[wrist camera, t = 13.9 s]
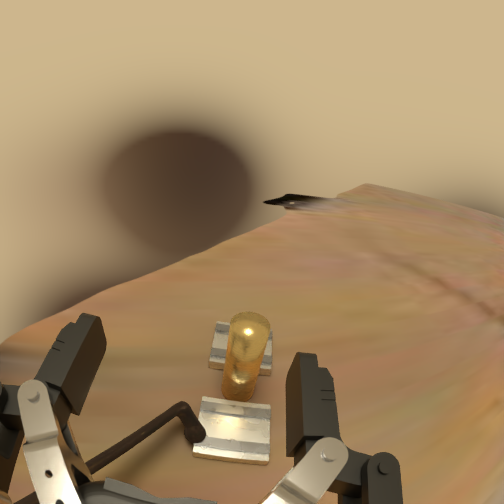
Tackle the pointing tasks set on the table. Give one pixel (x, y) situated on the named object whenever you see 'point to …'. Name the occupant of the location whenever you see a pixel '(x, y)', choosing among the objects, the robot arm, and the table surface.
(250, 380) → the link pin
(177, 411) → the wrench
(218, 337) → the metal plates
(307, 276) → the table surface
